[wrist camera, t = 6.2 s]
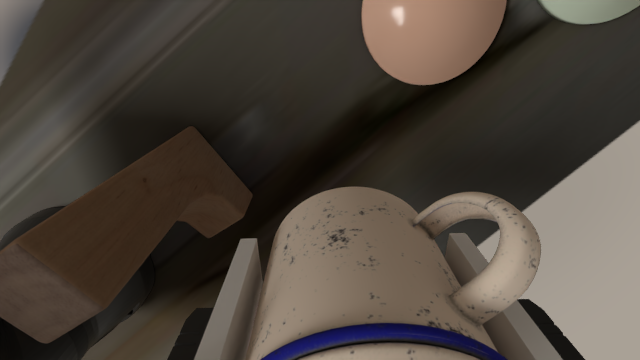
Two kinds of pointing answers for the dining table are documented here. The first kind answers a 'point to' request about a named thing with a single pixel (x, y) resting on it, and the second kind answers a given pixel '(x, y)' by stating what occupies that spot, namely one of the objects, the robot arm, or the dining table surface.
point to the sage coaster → (587, 10)
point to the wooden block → (114, 234)
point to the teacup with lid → (386, 280)
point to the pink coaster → (429, 36)
